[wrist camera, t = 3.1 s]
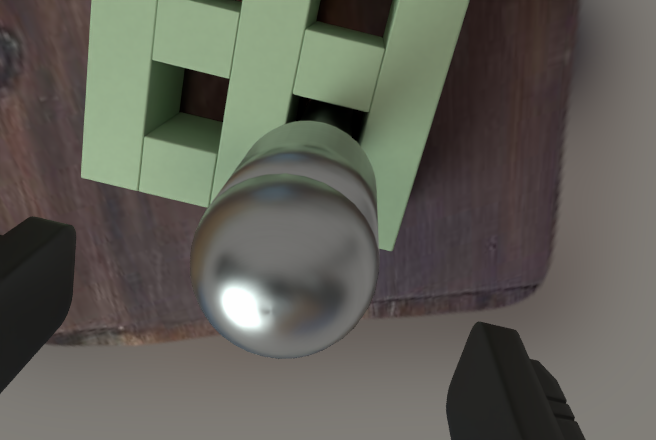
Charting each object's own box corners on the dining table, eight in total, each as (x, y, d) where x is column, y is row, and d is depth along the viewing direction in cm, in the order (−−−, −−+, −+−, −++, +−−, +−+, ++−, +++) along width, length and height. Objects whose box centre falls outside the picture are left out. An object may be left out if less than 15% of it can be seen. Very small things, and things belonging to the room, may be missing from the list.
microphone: (384, 82, 28) (408, 240, 11) (361, 167, 29) (351, 420, 12) (295, 60, 27) (176, 185, 10) (278, 146, 29) (151, 374, 12)
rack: (476, -86, 25) (501, -102, 20) (389, 211, 30) (392, 252, 25) (153, -168, 24) (102, -204, 20) (124, 147, 30) (79, 178, 25)
